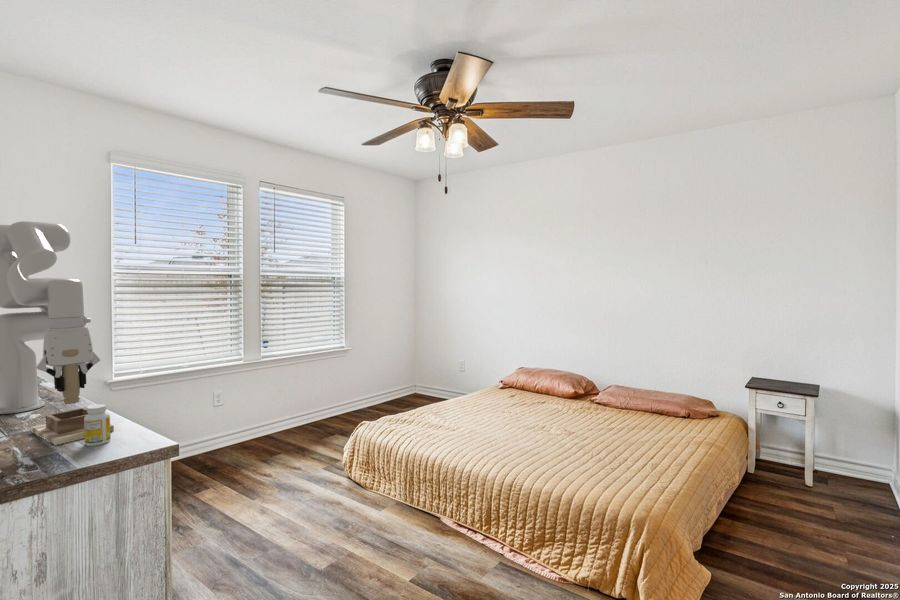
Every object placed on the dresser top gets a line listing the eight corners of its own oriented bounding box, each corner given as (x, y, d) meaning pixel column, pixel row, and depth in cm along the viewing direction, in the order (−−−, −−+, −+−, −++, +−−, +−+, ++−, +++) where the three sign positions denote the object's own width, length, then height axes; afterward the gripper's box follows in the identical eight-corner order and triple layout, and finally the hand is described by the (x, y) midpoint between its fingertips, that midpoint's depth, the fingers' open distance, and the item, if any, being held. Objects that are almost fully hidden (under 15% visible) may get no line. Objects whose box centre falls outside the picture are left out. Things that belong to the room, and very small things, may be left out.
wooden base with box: (32, 432, 127) (31, 414, 127) (88, 419, 138) (88, 403, 138) (54, 445, 117) (53, 426, 117) (113, 430, 128) (113, 413, 128)
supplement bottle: (93, 447, 116) (91, 410, 115) (80, 444, 118) (78, 408, 117) (115, 440, 121) (114, 404, 120) (102, 437, 123) (100, 402, 122)
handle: (60, 407, 123) (57, 352, 122) (60, 402, 128) (57, 349, 127) (83, 403, 126) (80, 349, 125) (82, 399, 131) (79, 347, 130)
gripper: (98, 320, 135) (101, 381, 136) (22, 326, 121) (26, 394, 122) (108, 321, 131) (111, 384, 132) (31, 327, 117) (36, 398, 118)
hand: (70, 388), depth 127 cm, fingers closed on handle, 3 cm apart
